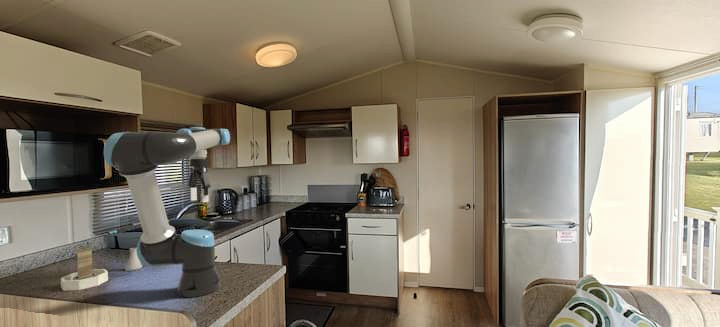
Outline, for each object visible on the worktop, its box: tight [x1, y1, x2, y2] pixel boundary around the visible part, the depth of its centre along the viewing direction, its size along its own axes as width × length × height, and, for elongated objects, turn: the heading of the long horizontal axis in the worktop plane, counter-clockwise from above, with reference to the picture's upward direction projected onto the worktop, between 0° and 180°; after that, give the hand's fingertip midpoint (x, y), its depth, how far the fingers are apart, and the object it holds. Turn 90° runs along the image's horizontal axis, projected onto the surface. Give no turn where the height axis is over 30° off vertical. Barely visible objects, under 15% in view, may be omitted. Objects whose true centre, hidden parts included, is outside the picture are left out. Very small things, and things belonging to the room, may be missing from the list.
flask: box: [124, 247, 143, 272], centre depth 155 cm, size 7×7×10 cm
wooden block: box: [76, 247, 93, 279], centre depth 137 cm, size 2×4×14 cm, turn 139°
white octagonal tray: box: [60, 268, 109, 292], centre depth 137 cm, size 15×15×4 cm
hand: (199, 201), depth 159 cm, fingers open, 13 cm apart
